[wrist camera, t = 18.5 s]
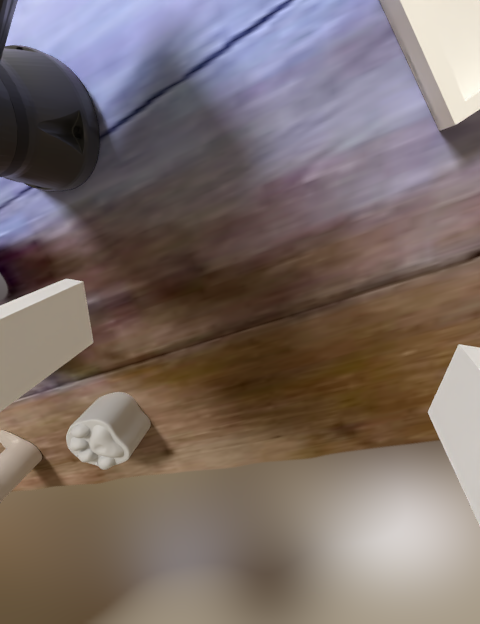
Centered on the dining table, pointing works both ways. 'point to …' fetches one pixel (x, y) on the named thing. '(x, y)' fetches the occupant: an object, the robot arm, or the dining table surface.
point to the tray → (441, 53)
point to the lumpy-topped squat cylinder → (108, 430)
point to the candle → (15, 461)
